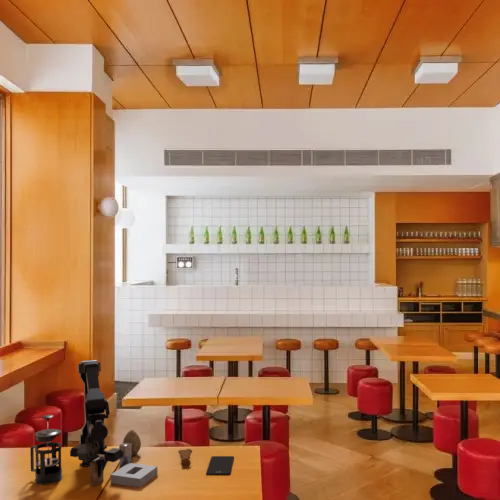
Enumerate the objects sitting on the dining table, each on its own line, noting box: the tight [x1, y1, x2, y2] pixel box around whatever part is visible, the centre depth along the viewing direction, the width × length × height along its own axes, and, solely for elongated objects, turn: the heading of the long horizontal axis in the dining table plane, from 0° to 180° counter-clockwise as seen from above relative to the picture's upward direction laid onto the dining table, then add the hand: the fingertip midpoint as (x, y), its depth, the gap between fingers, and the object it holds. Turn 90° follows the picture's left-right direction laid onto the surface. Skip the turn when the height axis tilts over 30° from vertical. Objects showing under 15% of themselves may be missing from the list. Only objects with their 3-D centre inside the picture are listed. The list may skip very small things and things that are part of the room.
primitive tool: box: [178, 448, 193, 468], centre depth 228 cm, size 19×6×4 cm, turn 10°
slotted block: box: [110, 463, 158, 488], centre depth 208 cm, size 12×12×3 cm
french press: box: [29, 414, 63, 485], centre depth 209 cm, size 12×9×23 cm
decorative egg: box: [122, 429, 142, 456], centre depth 233 cm, size 7×7×10 cm
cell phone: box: [205, 455, 235, 476], centre depth 219 cm, size 9×18×1 cm, turn 177°
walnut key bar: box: [89, 457, 104, 487], centre depth 205 cm, size 2×5×8 cm, turn 160°
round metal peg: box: [118, 442, 133, 469], centre depth 221 cm, size 4×4×8 cm
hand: (96, 476), depth 205 cm, fingers open, 2 cm apart
